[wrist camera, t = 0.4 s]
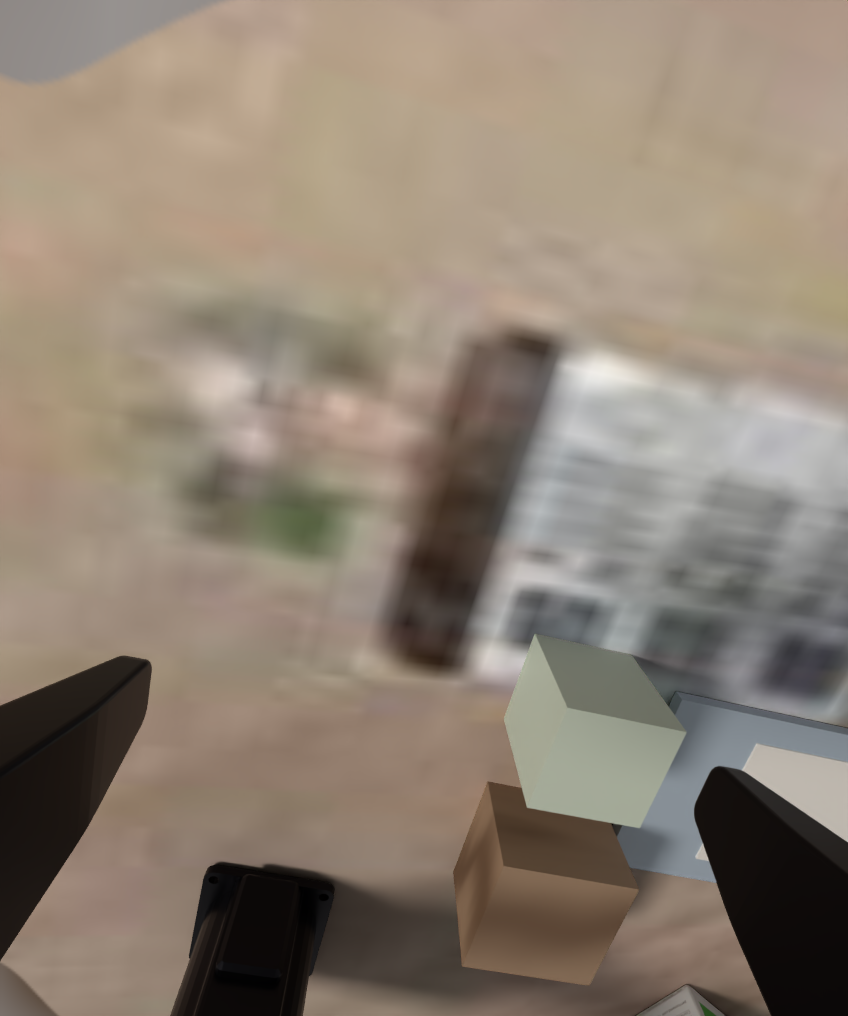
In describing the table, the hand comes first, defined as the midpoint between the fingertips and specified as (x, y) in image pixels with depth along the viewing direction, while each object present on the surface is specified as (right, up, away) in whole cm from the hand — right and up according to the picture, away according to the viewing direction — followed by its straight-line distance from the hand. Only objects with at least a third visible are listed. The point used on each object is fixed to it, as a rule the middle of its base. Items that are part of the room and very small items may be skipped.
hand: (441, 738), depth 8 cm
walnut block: (+5, -13, +19) cm, 23 cm away
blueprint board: (+16, -11, +18) cm, 27 cm away
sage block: (+6, -5, +16) cm, 18 cm away
